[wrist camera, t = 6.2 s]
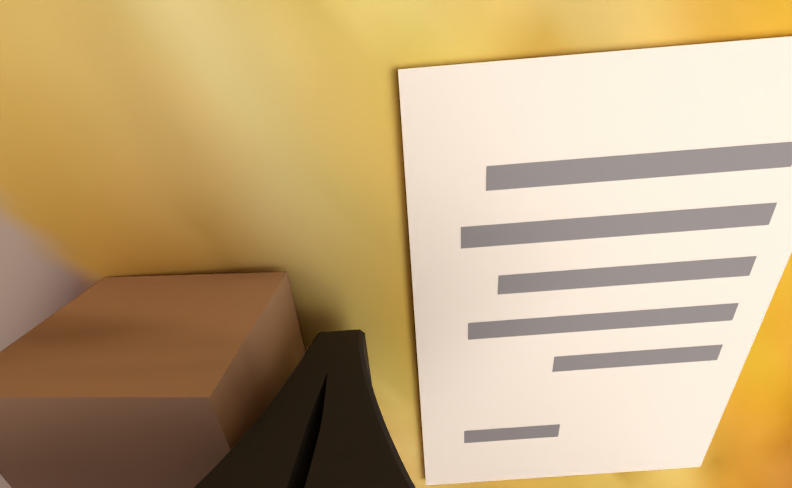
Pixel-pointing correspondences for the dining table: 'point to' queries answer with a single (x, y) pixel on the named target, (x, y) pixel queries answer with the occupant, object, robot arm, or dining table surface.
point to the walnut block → (145, 380)
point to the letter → (592, 251)
